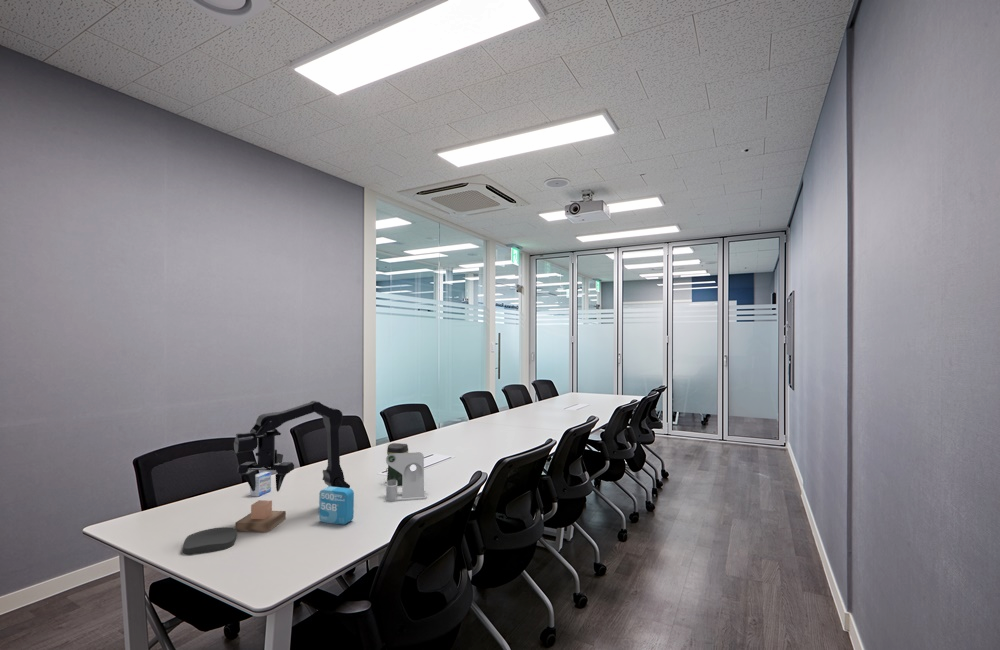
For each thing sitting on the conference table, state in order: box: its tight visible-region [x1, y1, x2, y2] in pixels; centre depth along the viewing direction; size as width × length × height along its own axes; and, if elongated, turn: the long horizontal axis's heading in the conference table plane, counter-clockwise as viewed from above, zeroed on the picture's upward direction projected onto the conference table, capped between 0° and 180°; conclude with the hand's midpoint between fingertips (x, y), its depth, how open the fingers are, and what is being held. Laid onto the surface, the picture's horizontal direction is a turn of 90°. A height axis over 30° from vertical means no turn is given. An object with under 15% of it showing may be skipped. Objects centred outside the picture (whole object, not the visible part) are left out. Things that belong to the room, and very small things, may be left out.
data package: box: [318, 486, 355, 526], centre depth 175 cm, size 12×4×12 cm, turn 74°
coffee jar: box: [386, 442, 409, 486], centre depth 223 cm, size 10×8×19 cm
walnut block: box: [234, 510, 287, 533], centre depth 172 cm, size 12×12×3 cm
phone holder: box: [385, 451, 428, 503], centre depth 203 cm, size 17×10×18 cm, turn 102°
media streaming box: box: [182, 526, 238, 556], centre depth 156 cm, size 15×15×3 cm
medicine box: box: [249, 471, 272, 497], centre depth 207 cm, size 8×4×9 cm, turn 168°
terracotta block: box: [250, 499, 273, 519], centre depth 172 cm, size 5×5×5 cm
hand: (265, 491), depth 173 cm, fingers open, 9 cm apart
